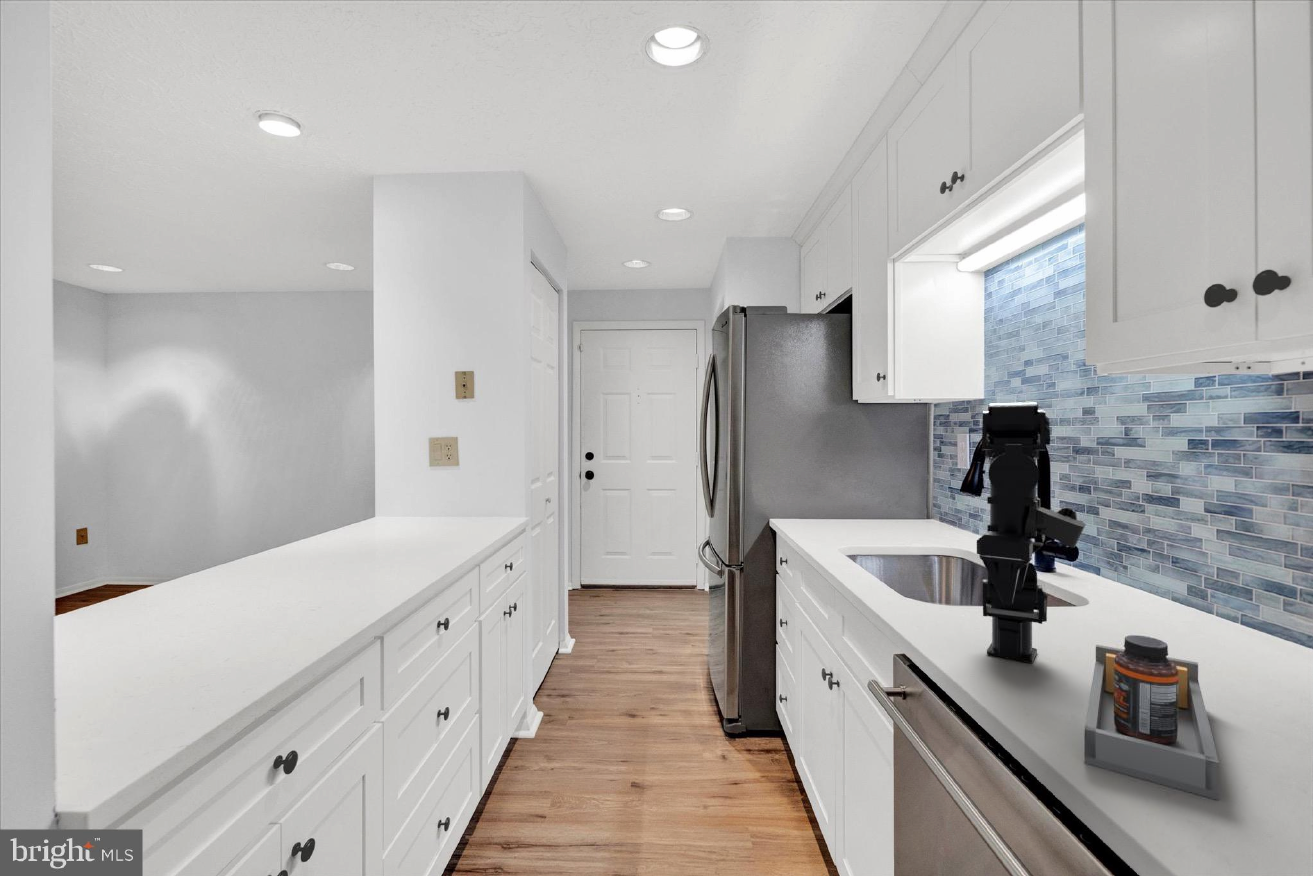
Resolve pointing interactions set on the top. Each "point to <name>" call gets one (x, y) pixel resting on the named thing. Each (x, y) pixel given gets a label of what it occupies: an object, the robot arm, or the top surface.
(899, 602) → the top surface
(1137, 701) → the supplement bottle
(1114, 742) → the tray
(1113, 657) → the pusher
